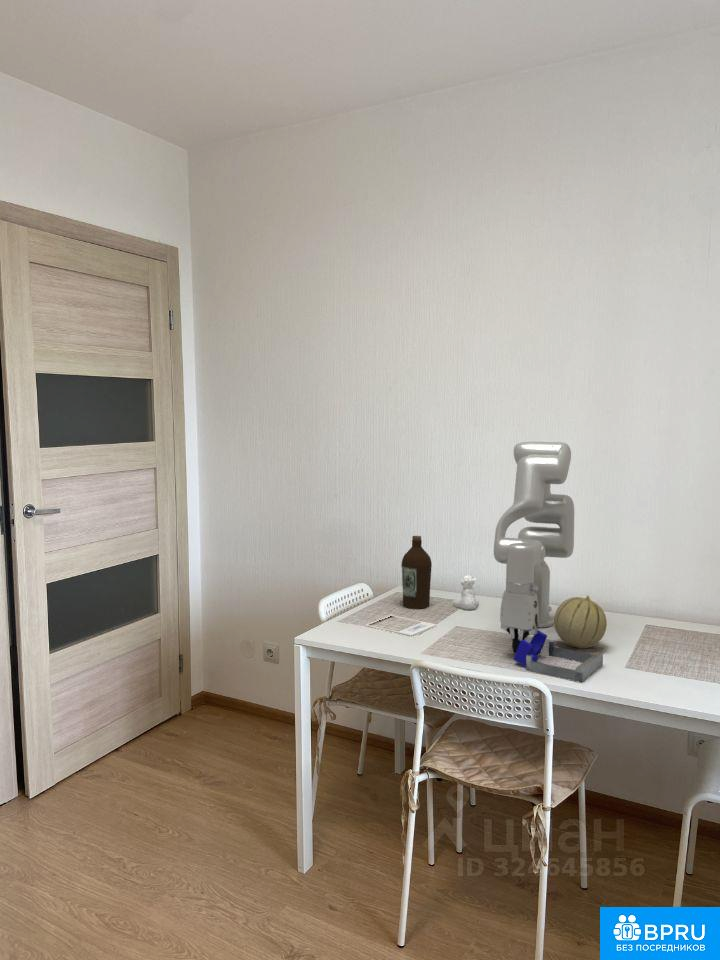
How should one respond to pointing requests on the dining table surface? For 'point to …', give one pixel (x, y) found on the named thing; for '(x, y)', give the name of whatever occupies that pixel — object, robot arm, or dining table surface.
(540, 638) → the cable clip
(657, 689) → the dining table surface
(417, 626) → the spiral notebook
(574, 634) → the cantaloupe
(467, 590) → the sitting furry creature
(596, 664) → the frame
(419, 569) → the olive oil
